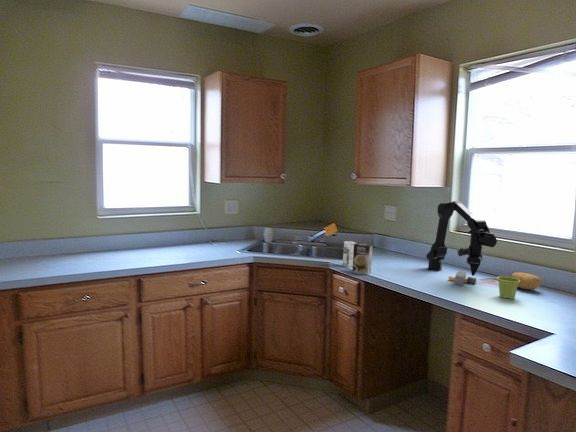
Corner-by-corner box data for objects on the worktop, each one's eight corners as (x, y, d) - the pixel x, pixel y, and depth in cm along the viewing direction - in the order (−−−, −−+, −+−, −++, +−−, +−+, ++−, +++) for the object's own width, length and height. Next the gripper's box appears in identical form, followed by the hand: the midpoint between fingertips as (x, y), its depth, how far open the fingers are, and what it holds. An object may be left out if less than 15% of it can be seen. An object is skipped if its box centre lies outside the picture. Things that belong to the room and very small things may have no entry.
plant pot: (490, 295, 194) (492, 277, 193) (505, 293, 197) (507, 275, 196) (507, 301, 185) (509, 282, 184) (523, 299, 188) (525, 280, 187)
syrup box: (342, 265, 245) (343, 241, 243) (351, 264, 247) (352, 240, 246) (346, 267, 240) (348, 242, 238) (355, 266, 242) (357, 242, 240)
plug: (448, 280, 216) (448, 274, 216) (449, 279, 219) (449, 273, 219) (475, 284, 210) (476, 278, 210) (475, 283, 213) (476, 277, 213)
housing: (454, 284, 210) (455, 275, 209) (457, 278, 222) (458, 270, 222) (463, 285, 208) (463, 276, 208) (465, 279, 220) (466, 271, 220)
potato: (517, 284, 214) (519, 269, 213) (544, 292, 201) (546, 276, 201) (505, 286, 210) (506, 270, 209) (531, 294, 197) (533, 277, 196)
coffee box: (351, 272, 227) (353, 244, 226) (355, 270, 233) (357, 242, 231) (368, 275, 223) (369, 246, 221) (371, 272, 229) (372, 244, 227)
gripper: (461, 239, 222) (458, 267, 224) (457, 244, 206) (454, 275, 207) (483, 241, 217) (481, 270, 219) (481, 247, 200) (479, 278, 202)
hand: (473, 273), depth 212 cm, fingers open, 9 cm apart
